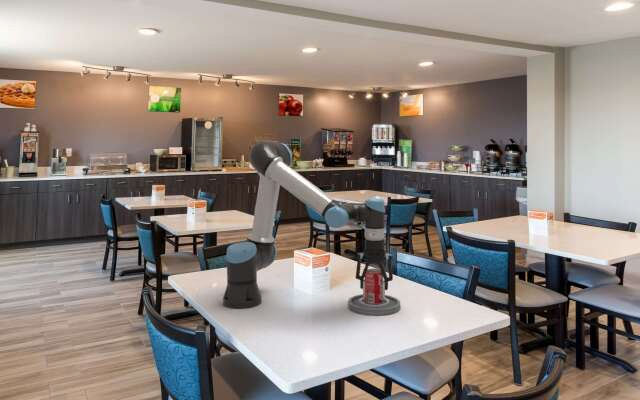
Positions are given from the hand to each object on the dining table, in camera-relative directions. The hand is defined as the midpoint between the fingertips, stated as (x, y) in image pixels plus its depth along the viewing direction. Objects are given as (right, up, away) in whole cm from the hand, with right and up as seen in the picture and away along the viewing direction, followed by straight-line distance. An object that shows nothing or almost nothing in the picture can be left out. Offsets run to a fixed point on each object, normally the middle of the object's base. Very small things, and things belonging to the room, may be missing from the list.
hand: (373, 297), depth 182 cm
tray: (0, -4, 0) cm, 4 cm away
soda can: (0, -3, 0) cm, 3 cm away
